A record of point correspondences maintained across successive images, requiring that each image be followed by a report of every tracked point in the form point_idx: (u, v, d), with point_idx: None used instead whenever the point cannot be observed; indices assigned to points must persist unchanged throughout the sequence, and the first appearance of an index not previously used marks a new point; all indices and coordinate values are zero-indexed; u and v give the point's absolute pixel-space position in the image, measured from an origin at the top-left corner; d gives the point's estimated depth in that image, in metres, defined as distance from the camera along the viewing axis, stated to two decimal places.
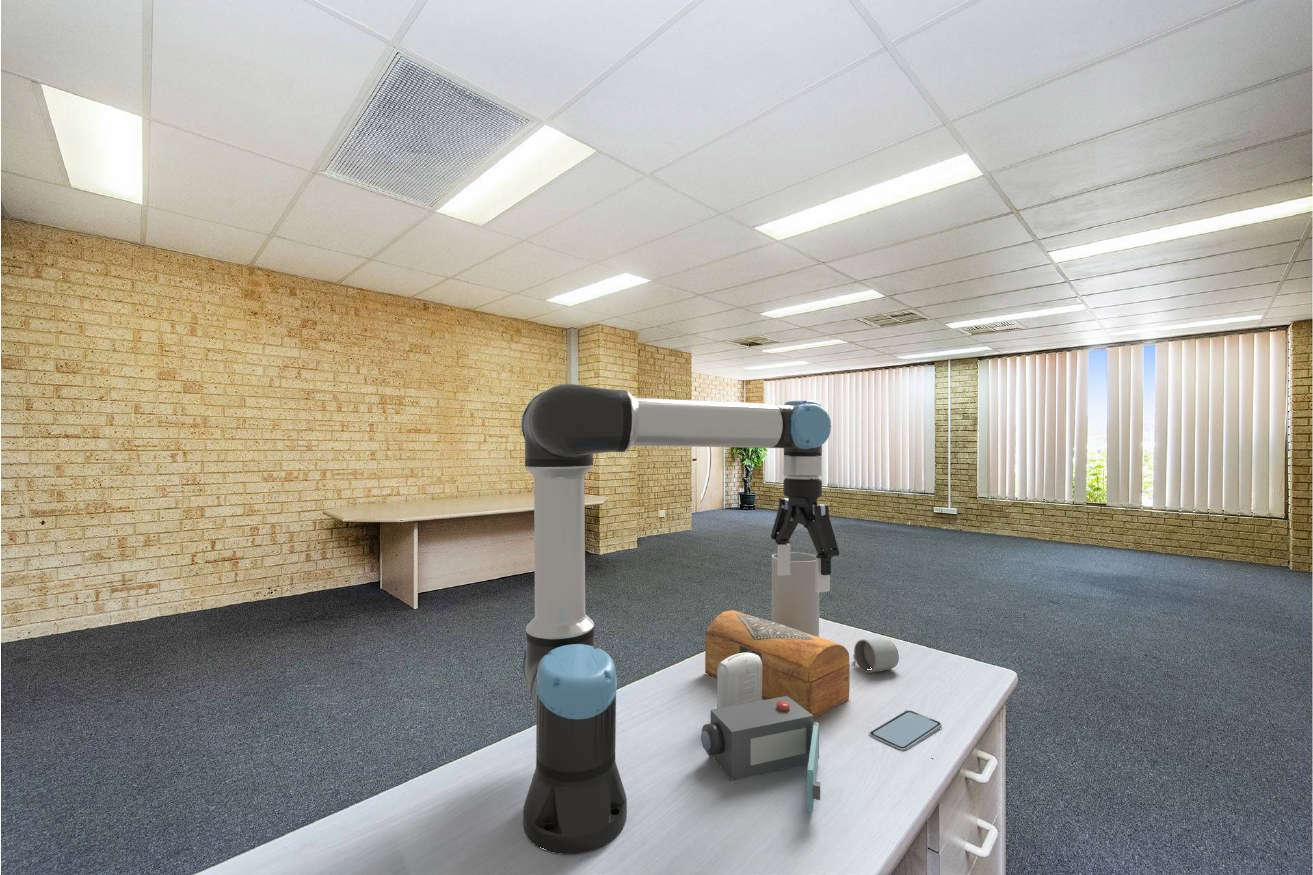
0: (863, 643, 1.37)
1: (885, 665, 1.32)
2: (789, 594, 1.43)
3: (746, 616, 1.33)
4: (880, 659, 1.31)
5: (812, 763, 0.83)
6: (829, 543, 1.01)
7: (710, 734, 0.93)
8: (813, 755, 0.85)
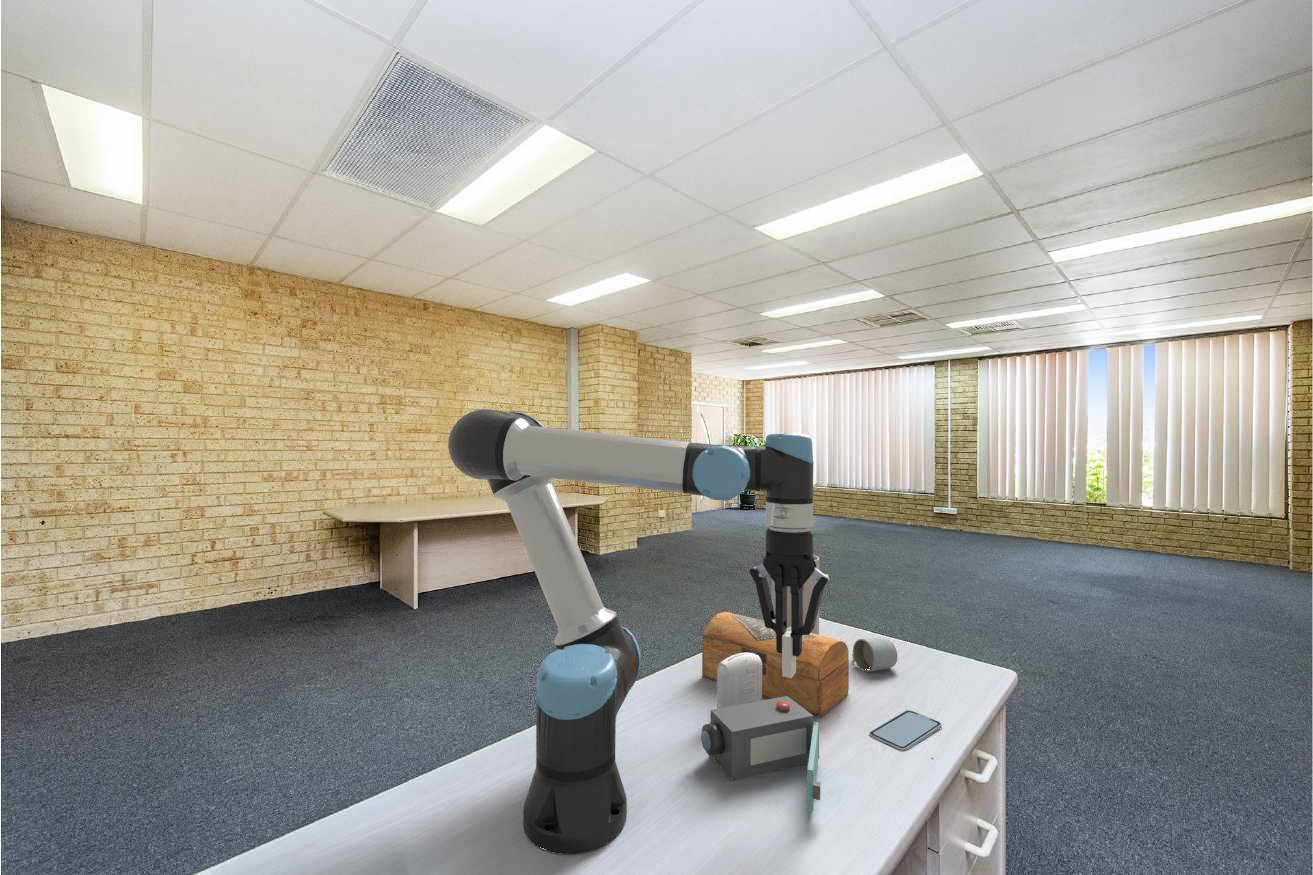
0: (862, 642, 1.38)
1: (883, 664, 1.32)
2: (789, 594, 1.43)
3: (742, 617, 1.32)
4: (879, 659, 1.31)
5: (812, 763, 0.83)
6: None
7: (710, 734, 0.93)
8: (813, 755, 0.85)
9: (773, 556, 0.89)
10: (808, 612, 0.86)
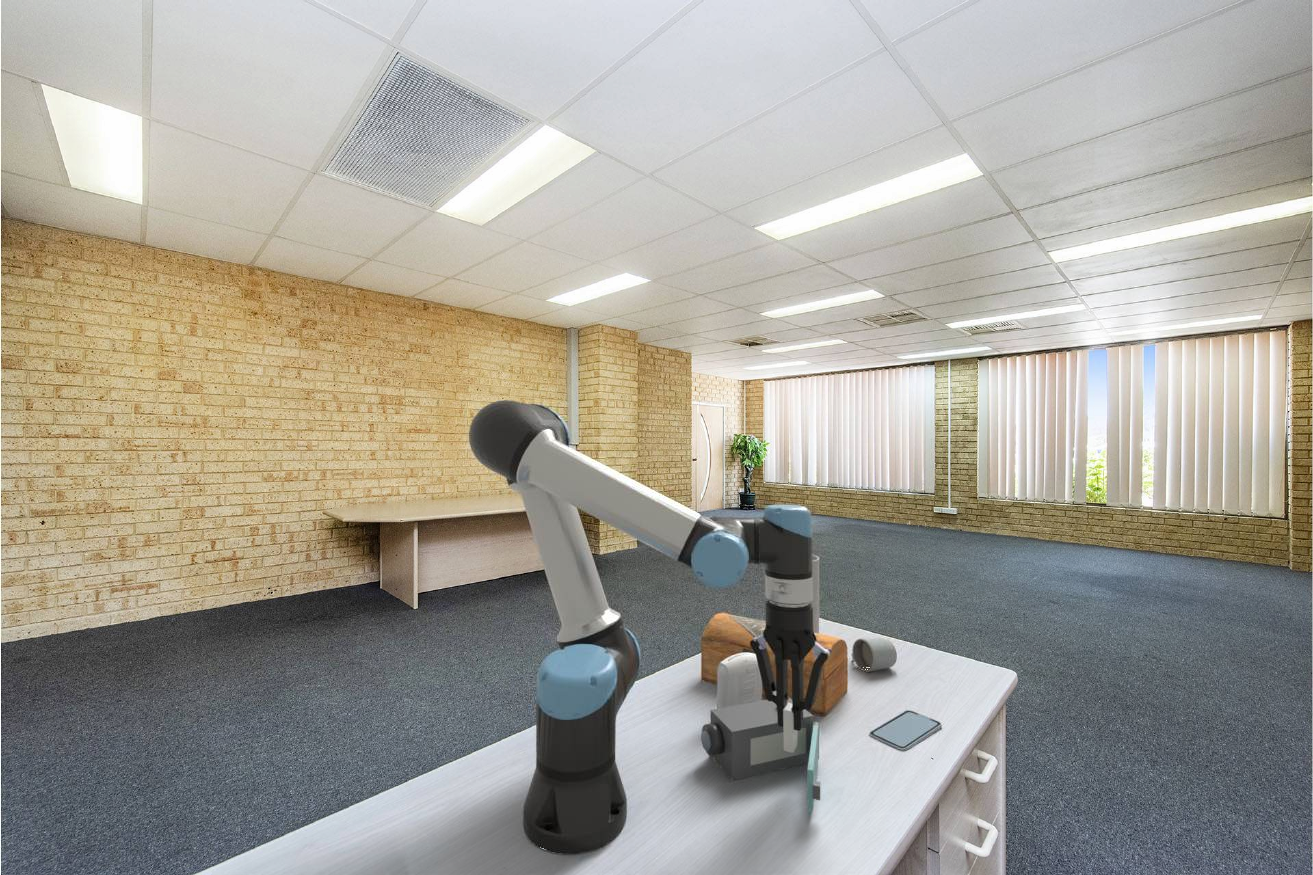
0: (861, 642, 1.38)
1: (883, 664, 1.32)
2: None
3: (740, 618, 1.32)
4: (878, 658, 1.32)
5: (812, 763, 0.83)
6: None
7: (710, 734, 0.93)
8: (813, 755, 0.85)
9: (773, 629, 0.89)
10: (809, 687, 0.86)
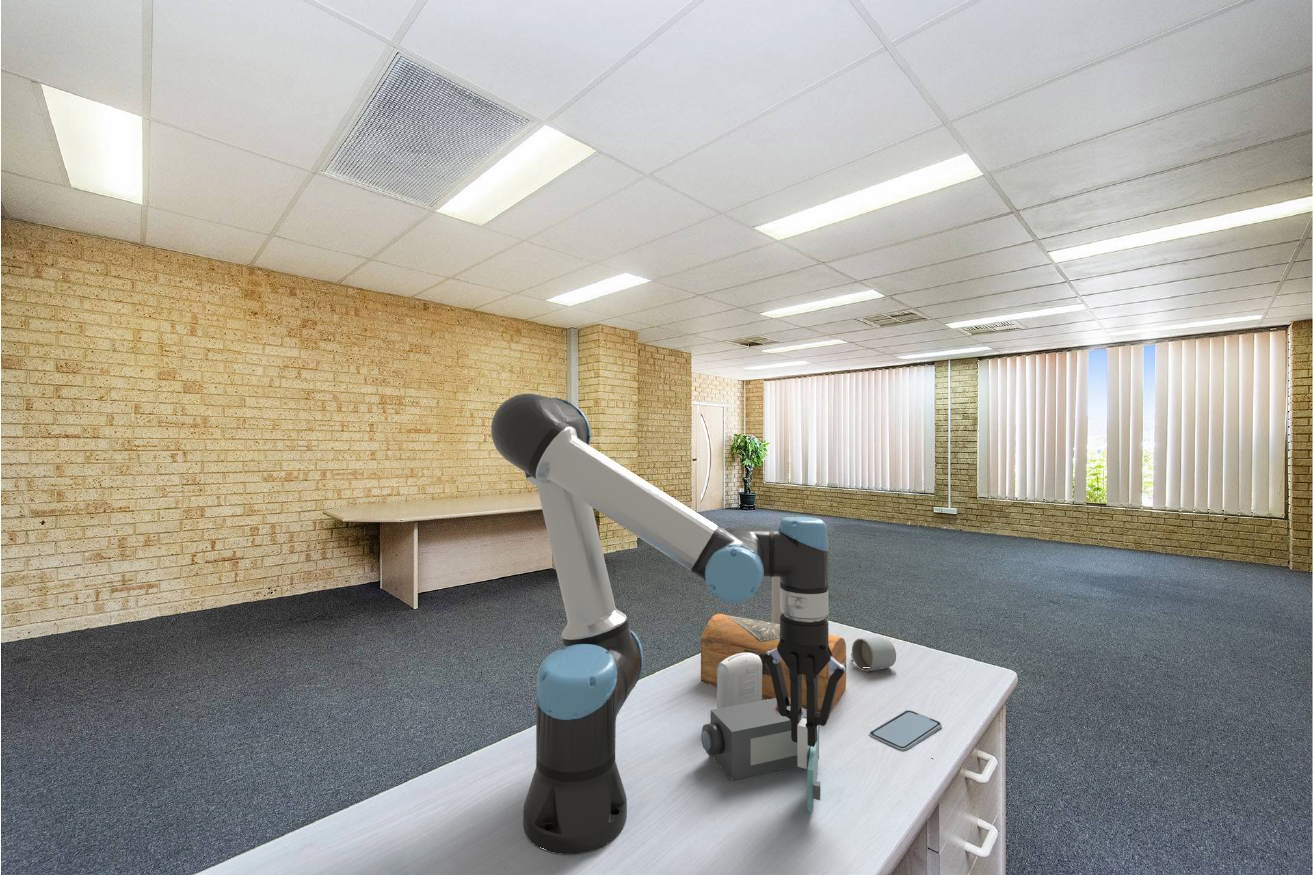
0: (861, 642, 1.38)
1: (882, 664, 1.33)
2: None
3: (738, 618, 1.31)
4: (878, 658, 1.32)
5: (812, 763, 0.83)
6: None
7: (710, 734, 0.93)
8: (813, 755, 0.85)
9: (788, 643, 0.88)
10: (824, 703, 0.85)
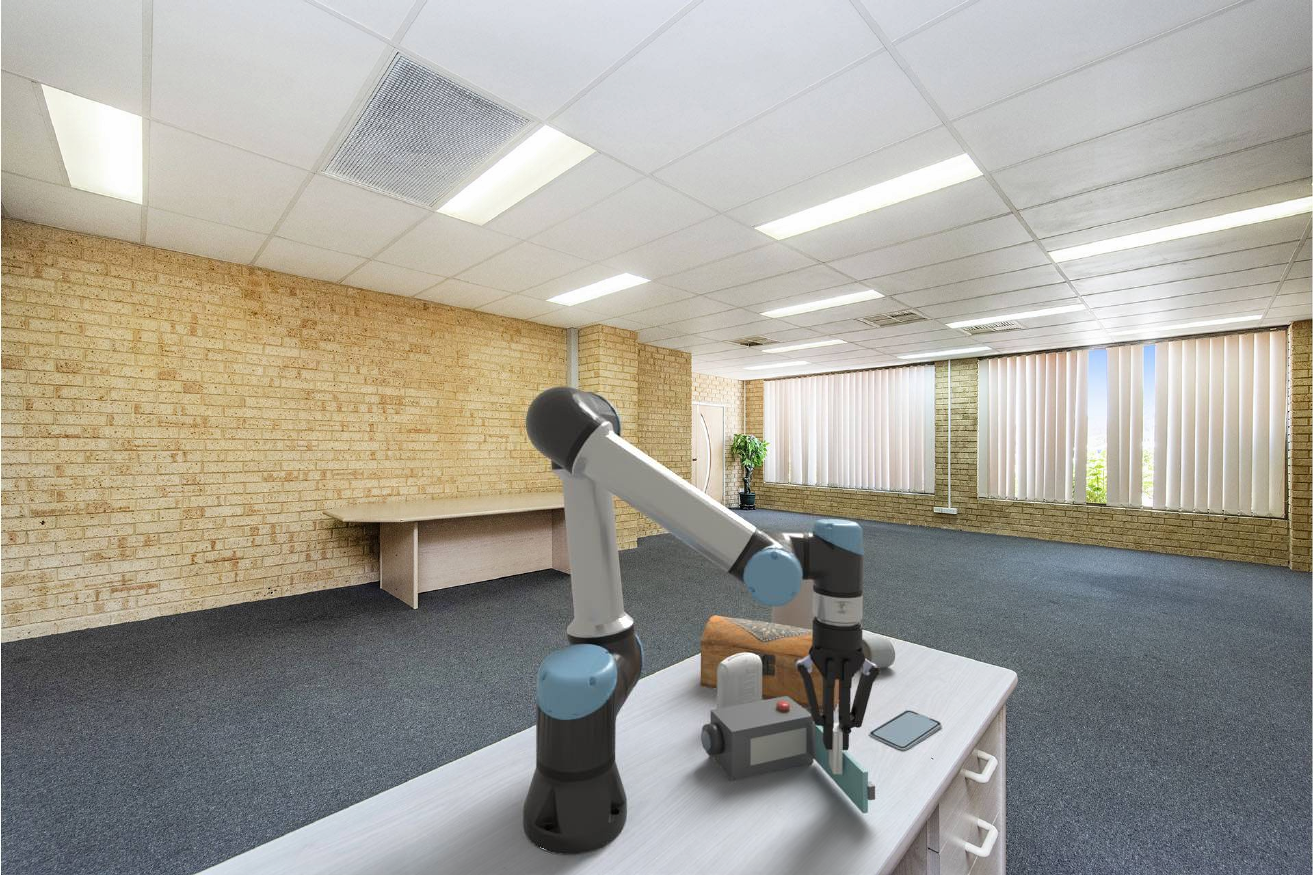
0: None
1: (881, 663, 1.33)
2: None
3: (736, 619, 1.30)
4: (877, 657, 1.32)
5: (859, 764, 0.83)
6: (809, 707, 0.87)
7: (710, 734, 0.93)
8: (850, 756, 0.85)
9: (823, 650, 0.85)
10: (860, 704, 0.85)
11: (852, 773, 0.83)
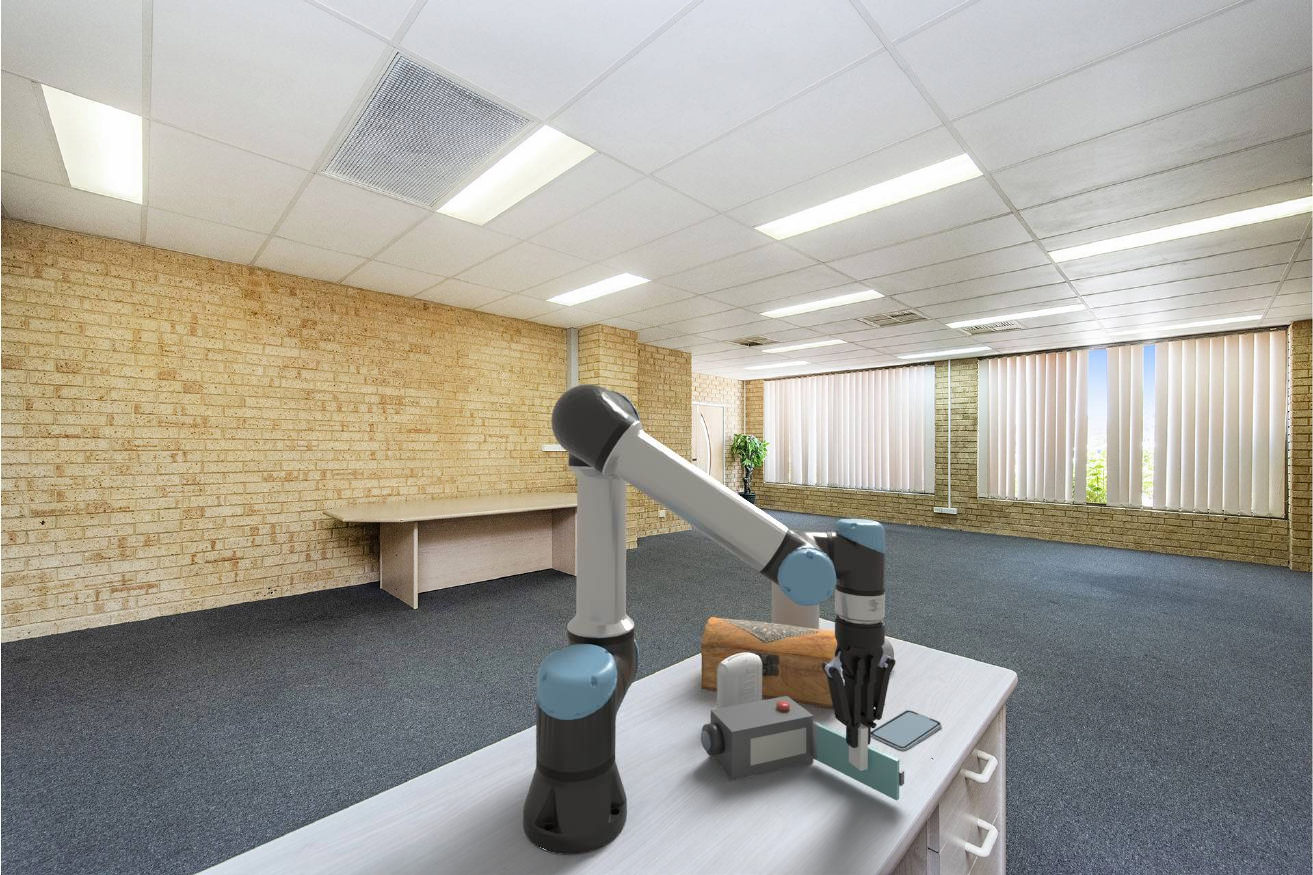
0: None
1: None
2: None
3: (734, 621, 1.29)
4: None
5: (887, 754, 0.85)
6: (836, 709, 0.86)
7: (710, 734, 0.93)
8: (873, 748, 0.87)
9: (852, 649, 0.86)
10: (881, 697, 0.87)
11: (879, 764, 0.86)
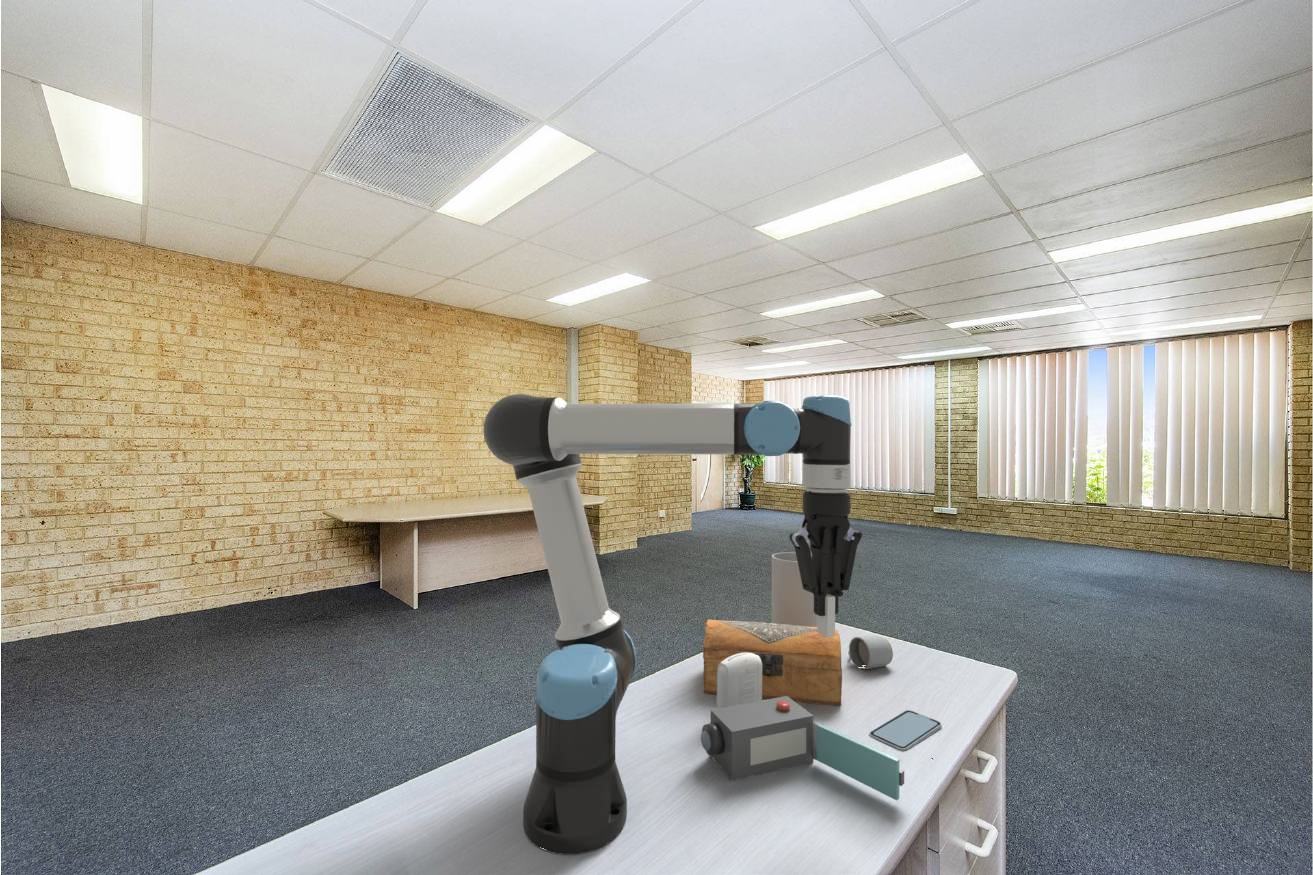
0: (858, 640, 1.39)
1: (879, 662, 1.34)
2: (789, 594, 1.43)
3: (733, 622, 1.28)
4: (874, 656, 1.33)
5: (887, 754, 0.85)
6: (803, 579, 0.89)
7: (710, 734, 0.93)
8: (873, 748, 0.87)
9: (818, 519, 0.88)
10: (847, 568, 0.90)
11: (879, 764, 0.86)
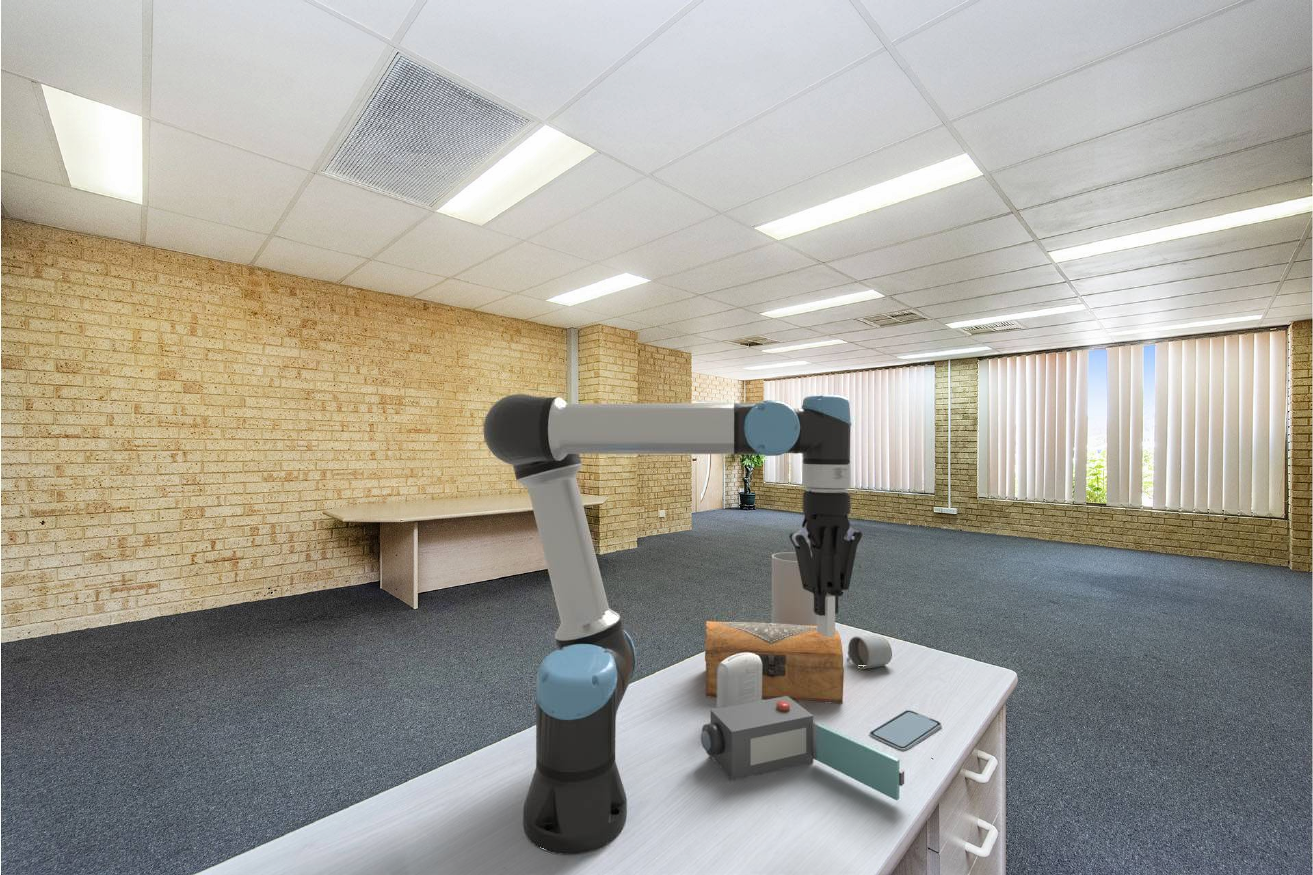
0: (857, 640, 1.39)
1: (878, 662, 1.34)
2: (789, 594, 1.43)
3: (732, 623, 1.28)
4: (874, 656, 1.33)
5: (887, 754, 0.85)
6: (803, 578, 0.89)
7: (710, 734, 0.93)
8: (873, 748, 0.87)
9: (818, 519, 0.88)
10: (847, 568, 0.90)
11: (879, 764, 0.86)
